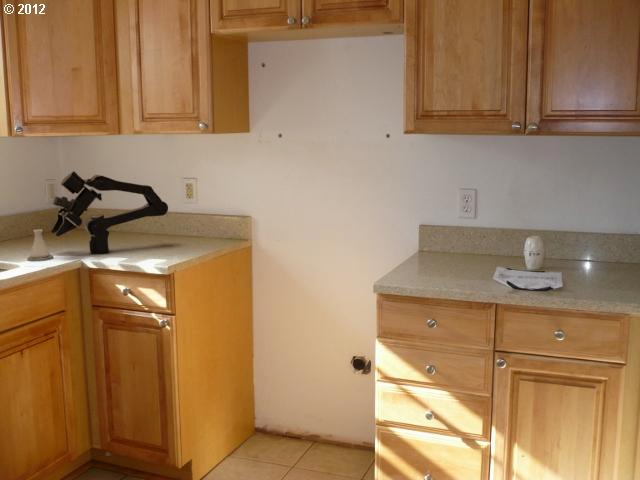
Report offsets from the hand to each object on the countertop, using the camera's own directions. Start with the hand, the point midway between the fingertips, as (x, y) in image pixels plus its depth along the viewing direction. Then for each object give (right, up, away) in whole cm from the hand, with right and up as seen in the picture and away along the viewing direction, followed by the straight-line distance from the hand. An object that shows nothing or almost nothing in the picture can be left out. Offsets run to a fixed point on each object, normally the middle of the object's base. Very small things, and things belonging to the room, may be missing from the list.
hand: (54, 234), depth 264 cm
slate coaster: (-5, -9, -1) cm, 10 cm away
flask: (-5, -9, -2) cm, 10 cm away
